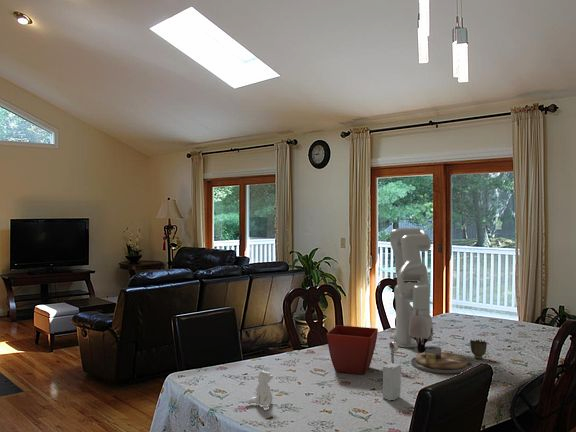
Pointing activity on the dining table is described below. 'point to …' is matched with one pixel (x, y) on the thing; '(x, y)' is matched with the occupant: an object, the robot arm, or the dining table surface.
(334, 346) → the plant pot
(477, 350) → the cup
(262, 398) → the sitting furry creature
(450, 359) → the platter
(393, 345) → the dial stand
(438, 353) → the cover
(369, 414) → the dining table surface
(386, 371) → the skincare box
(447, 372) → the turntable base
